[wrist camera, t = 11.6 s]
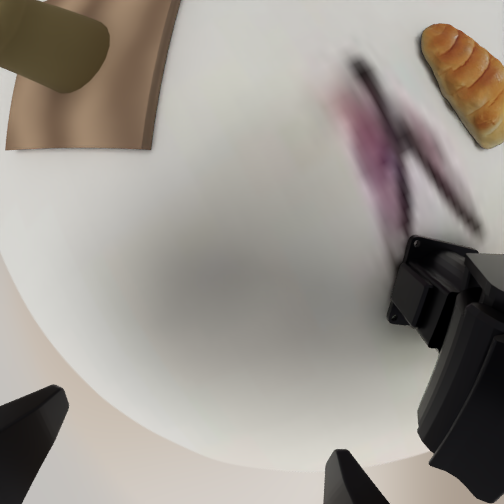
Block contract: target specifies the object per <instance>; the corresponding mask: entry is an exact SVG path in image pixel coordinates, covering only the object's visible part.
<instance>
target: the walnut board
mask: <svg viewBox="0 0 504 504" xmlns="http://www.w3.org/2000/svg"><path fill="white" fill-rule="evenodd" d="M180 1H181V0H47V1H45V2H44V3H48V4H51V5H54V6H58V7H61V8H64V9H67V10H70V11H73V12H76V13H78V14H81V15H84V16H87V17H89V18H92V19H95V20H97V21H100V22H101V23H103V24H104V25H105V26H106V27H107V29H108V32H109V34H110V47H109V50H108V53H107V56H106V59H105V61H104V62H103V64H102V66H101V68H100V69H99V71H98V72H97V73H96V74H95V76H94V77H93V78H92V79H91V80H90V81H89V82H88V83H87V84H85V85H84V86H83V87H82V88H80V89H78V90H76V91H74V92H71V93H59V92H56V91H54V90H52V89H50V88H48V87H46V86H43V85H41V84H39V83H37V82H34V81H32V80H30V79H28V78H25V77H23V76H21V75H18V74H17V77H16V82H15V86H14V91H13V96H12V102H11V108H10V114H9V121H8V129H7V137H6V148H5V150H20V149H40V148H124V149H146V150H151V144H152V137H153V129H154V122H155V116H156V109H157V103H158V97H159V92H160V86H161V81H162V76H163V71H164V66H165V61H166V57H167V52H168V48H169V43H170V39H171V35H172V31H173V27H174V23H175V19H176V16H177V12H178V8H179V5H180Z"/></svg>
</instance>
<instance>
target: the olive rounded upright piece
mask: <svg viewBox="0 0 504 504" xmlns="http://www.w3.org/2000/svg"><path fill="white" fill-rule="evenodd" d="M109 47H110V34H109V32H108V29H107V27H106V26H105V25H104V24H103V23H101V22H100V21H97V20H95V19H92V18H89V17H87V16H84V15H81V14H78V13H76V12H73V11H70V10H67V9H64V8H61V7H58V6H54V5H51V4H48V3H44V2H41V1H37V0H0V67H2V68H4V69H7V70H9V71H11V72H14V73H16V74H18V75H21V76H23V77H25V78H28V79H30V80H32V81H34V82H37V83H39V84H41V85H43V86H46V87H48V88H50V89H52V90H54V91H56V92H59V93H71V92H74V91H76V90H78V89H80V88H82V87H83V86H84V85H85V84H87V83H88V82H89V81H90V80H91V79H92V78H93V77H94V76H95V74H96V73H97V72H98V71H99V69H100V68H101V66H102V64H103V62H104V61H105V59H106V56H107V53H108V50H109Z"/></svg>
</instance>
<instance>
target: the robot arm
mask: <svg viewBox="0 0 504 504" xmlns="http://www.w3.org/2000/svg"><path fill="white" fill-rule="evenodd" d="M416 240H418V244H417V245H416V246H414V242H415V241H416ZM391 300H392V301H391V304H390V307H389V310H388V313H387V319H388V321H389V322H390V323H391V324H399V325H410V326H411V327H412V328H415V329H416V330H417V332H418V333H419V334H420V336H421V337H422V338H423V340H424V341H425V343H426V344H427V345H428V347H429V348H435V349H436V350H437V351H438V353H439V357H438V360H437V362H436V365H435V368H434V370H433V373H432V376H431V378H430V381H429V383H428V386H427V388H426V390H425V393H424V395H423V397H422V400H421V402H420V405H419V408H418V411H417V413H418V425H419V427H418V430H417V432H418V434H419V436H420V438H421V440H422V442H423V443H424V444H425V445H426V446H427V447H428V449H429V450H430V451H431V452H433V453H434V455H433V457H432V458H431V459H430V461H429V465H430V466H432V467H435V468H438V469H441V470H444V471H446V472H448V473H450V474H452V475H453V476H455V477H457V478H458V479H459V480H460V481H461V482H462V483H463V484H464V485H465V486H466V487H467V488H468V489H469V491H470V492H471V493H472V494H473V495H474V496H475V497H476V498H477V499H480V500H482V501H485V502H487V503H494V502H495V501H497V500H498V499H499V498H500V497H501V496H502V495H503V494H504V254H479V253H478V251H477V250H475V249H473V248H469V247H465V246H461V245H456V244H452V243H448V242H444V241H440V240H435V239H431V238H427V237H422V236H418V235H414V236H412V237H411V238H410V239H409V242H408V246H407V250H406V254H405V257H404V261H403V263H402V264H401V265H400V268H399V271H398V275H397V278H396V282H395V285H394V288H393V291H392V295H391ZM393 315H396V316H395V317H394V318H392V316H393ZM68 408H69V403H68V400H67V397H66V394H65V391H64V389H63V388H61V387H59V386H57V385H50V386H48V387H45V388H43V389H41V390H39V391H36V392H33V393H31V394H29V395H26V396H24V397H21V398H19V399H16V400H14V401H11V402H9V403H6V404H4V405H2V406H0V504H22V502H23V500H24V498H25V496H26V494H27V492H28V490H29V488H30V486H31V484H32V482H33V480H34V478H35V477H36V475H37V473H38V471H39V469H40V467H41V465H42V463H43V462H44V460H45V458H46V456H47V454H48V452H49V450H50V449H51V447H52V445H53V443H54V441H55V439H56V437H57V435H58V432H59V430H60V428H61V425H62V423H63V420H64V418H65V416H66V414H67V411H68ZM323 504H390V503H389V502H388V501H387V500H386V498H385V497H384V496H383V495H382V493H381V492H380V491H379V490H378V488H377V487H376V486H375V484H374V483H373V482H372V481H371V479H370V478H369V477H368V475H367V474H366V473H365V472H364V470H363V469H362V468H361V466H360V465H359V464H358V462H357V461H356V460H355V458H354V457H353V456H352V454H351V453H350V452H349V451H348V450H347V449H336V450H334V451H333V453H332V455H331V456H330V458H329V460H328V461H327V463H326V467H325V486H324V503H323Z"/></svg>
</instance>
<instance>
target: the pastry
mask: <svg viewBox="0 0 504 504" xmlns="http://www.w3.org/2000/svg"><path fill="white" fill-rule="evenodd" d="M421 49H422V52H423V55H424V57H425V59H426V61H427V62H428V64H429V65H430V66H431V68H432V70H433V73H434V75H435V77H436V79H437V81H438V84H439V88H440V90H441V93H442V95H443V96H444V97H445V98H446V99H447V100H448V101H449V102H450V104H451V106H452V108H453V109H454V110H455V112H456V113H457V115H458V117H459V118H460V120H461V122H462V123H463V124H464V126H465V127H466V129H467V130H468V131H469V133H470V134H471V135H472V136H473V137H474V138H475V140H476V142H477V143H479V144H480V146H481V147H482V148H484V149H491V148H493V147H496V146H497V145H500V144H501V143H503V142H504V66H503V65H502V64H501V62H500V61H499V60H498V59H496V58H494V57H493V56H492V55H491V54H490V53H489V52H488V51H487V50H486V49H484V48H483V47H481V46H479V45H478V43H476V42H475V41H474V40H473V39H472V38H470V37H469V36H467V35H466V34H464V33H463V32H462V31H460V30H458V29H456V28H454V27H453V26H451V25H449V24H440V23H439V24H433V25H431V26H429V27H427V28H426V29H425V30H424V31H423V33H422V39H421Z"/></svg>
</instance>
